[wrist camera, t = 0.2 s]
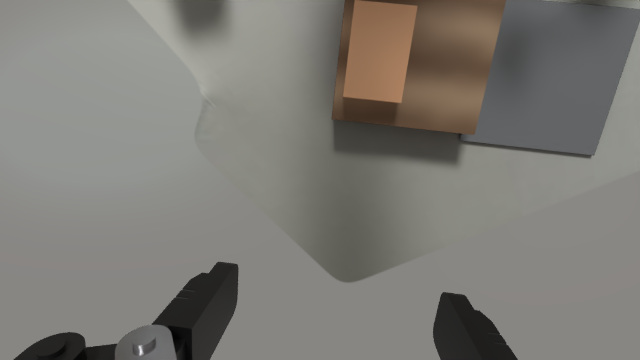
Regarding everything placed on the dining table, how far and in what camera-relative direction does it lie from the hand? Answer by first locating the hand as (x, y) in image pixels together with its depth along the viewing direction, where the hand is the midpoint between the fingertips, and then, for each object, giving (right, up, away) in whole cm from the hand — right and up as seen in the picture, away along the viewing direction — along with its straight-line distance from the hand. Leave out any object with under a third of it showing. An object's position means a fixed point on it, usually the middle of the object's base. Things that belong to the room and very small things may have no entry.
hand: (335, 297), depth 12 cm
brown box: (+10, +18, +24) cm, 32 cm away
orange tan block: (+5, +18, +20) cm, 27 cm away
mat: (+26, +16, +23) cm, 38 cm away
